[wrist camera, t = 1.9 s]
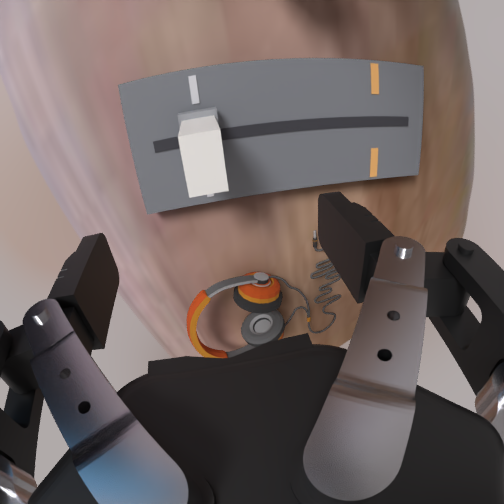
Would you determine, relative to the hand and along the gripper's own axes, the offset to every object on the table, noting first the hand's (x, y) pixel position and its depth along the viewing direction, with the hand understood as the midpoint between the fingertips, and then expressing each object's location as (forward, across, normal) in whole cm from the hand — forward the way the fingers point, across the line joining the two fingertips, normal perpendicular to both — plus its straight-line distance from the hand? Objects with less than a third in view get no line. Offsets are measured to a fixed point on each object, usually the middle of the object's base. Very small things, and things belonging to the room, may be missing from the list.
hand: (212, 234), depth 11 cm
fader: (+16, 0, 0) cm, 16 cm away
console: (+18, -8, 0) cm, 20 cm away
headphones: (+19, -4, +20) cm, 28 cm away
